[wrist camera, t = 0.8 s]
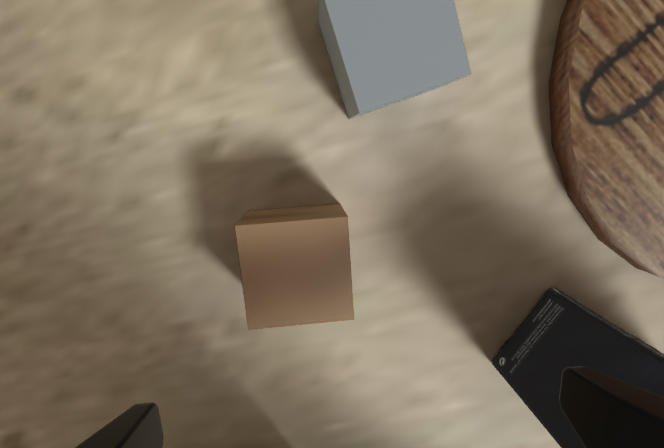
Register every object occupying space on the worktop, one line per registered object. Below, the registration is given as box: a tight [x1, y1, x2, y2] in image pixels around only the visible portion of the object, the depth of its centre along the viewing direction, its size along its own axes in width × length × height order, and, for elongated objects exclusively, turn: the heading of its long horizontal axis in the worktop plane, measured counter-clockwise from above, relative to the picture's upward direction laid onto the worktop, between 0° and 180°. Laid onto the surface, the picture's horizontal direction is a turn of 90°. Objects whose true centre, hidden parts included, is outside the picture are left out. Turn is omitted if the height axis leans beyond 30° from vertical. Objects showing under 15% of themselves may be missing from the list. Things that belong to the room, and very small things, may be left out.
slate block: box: [318, 0, 471, 119], centre depth 17 cm, size 5×5×4 cm
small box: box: [492, 287, 664, 448], centre depth 18 cm, size 11×6×10 cm, turn 56°
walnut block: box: [235, 204, 354, 330], centre depth 19 cm, size 5×5×4 cm
